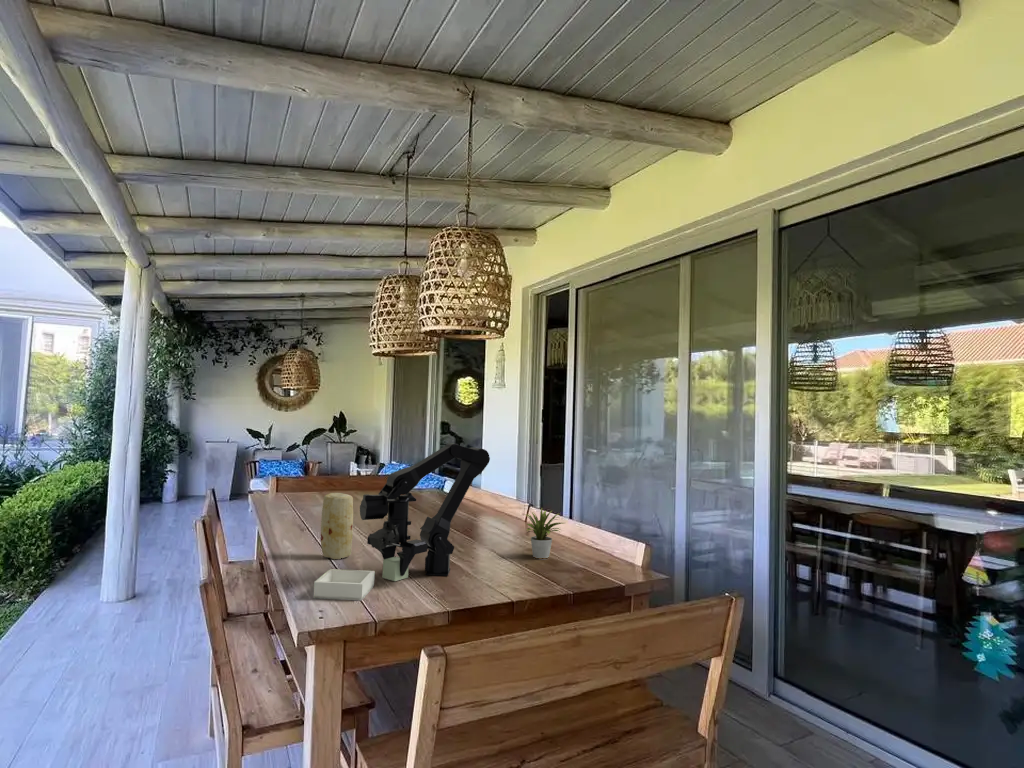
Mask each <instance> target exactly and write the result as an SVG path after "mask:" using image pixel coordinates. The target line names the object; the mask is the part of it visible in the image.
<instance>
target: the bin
mask: <svg viewBox="0 0 1024 768" xmlns="http://www.w3.org/2000/svg"><path fill="white" fill-rule="evenodd" d="M375 573H376V572H375V570H364V569H363V570H362V569H361V570H359V569H358V570H357V569H341V568H340V569H339V568H338V569H336V568H330V569H328V570H327V571H325V573H324V574H322V575H321V576H320V577H318V578H317V579H316V580H314V581H313V583H314V584H313V599H316V600H317V599H318V600H319V599H320V600H336V601H338V600H339V601H359V602H361V601H363V600H364V598H366V596H367V595H368V594H369V593H370V591H372V589H373V588H374V586H375Z"/></svg>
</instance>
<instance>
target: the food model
mask: <svg viewBox="0 0 1024 768" xmlns="http://www.w3.org/2000/svg"><path fill="white" fill-rule="evenodd" d="M321 508H322V509H321V510H322V511H321V520H320V548H321V553H322V556H323V557H324V558H329V559H331V560H335V559H338V560H341V558H342V559H344V558H348V557H350V555H351V554H352V544H353V527H354V526H353V525H354V498H353V496H352V495H350V494H347V493H343V492H331V493H327V494H325V495H324V496H323V501H322V507H321Z"/></svg>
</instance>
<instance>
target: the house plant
mask: <svg viewBox="0 0 1024 768" xmlns="http://www.w3.org/2000/svg"><path fill="white" fill-rule="evenodd" d="M552 512H553V510H550V511H549V512H548V513H547V510H544V511H543V507H541V509H540V513H539V514H540V515H539V519H538V516H537V514H536V513H535V512H531V514H532V516H533V517H532V516H531V514H530V513H528V514H526V513H525V514H523V513H522V515H524V516H526V517H527V518H528V519H529V520H530V522H531V523H527V524H526V526H529V527H528V528H527V529H526V531H527V533H530V532H531V533H534V535H535V536H534V535H533V536H531V537H530V541H531V542H530V543H531V550H532V552H531V553H532V558H533V557H536V558H548V557H550V552H551V548H552V543H553V538H552V537H550V536H548V535H550V534H551V533H552V532H559V533H561V532H562V531H561V528H560V527H555V526H557V525H561V524H565V522H553V521H555V520H559V519H558V517H557V516H558V515H560V513H557V514H555V515H553V517H552V518H550V520H548V522H547V523H546V521H547V519H548V518H549V515H551V513H552ZM548 559H549V558H548Z"/></svg>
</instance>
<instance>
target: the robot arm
mask: <svg viewBox="0 0 1024 768" xmlns="http://www.w3.org/2000/svg"><path fill="white" fill-rule="evenodd" d="M455 458H456V459H458V460H461V461H460V467H459V468H460V469H459V472H458V475H457V476H456V478H455V480H454V482H453V484H452V485H451V487H450V489H449V490H448V492H447V494H446V495H445V496H446V497H445V498H444V500H443V501H442V504H441V506H440V507H439V509H438V511H437V513H436V514H435V515H433V517H429V516H427V517H426V518H425V519H424V523H423V524H422V526H421V527H420V532H419V537H420V538H419V539H412V540H411V535H408V534H409V533H408V532H409V531H408V530H409V527H408V526H411V525H412V521H411V520H409V511H410V510H409V509H410V508H409V505H410V502H416V501H417V498H416V497H415V496H413V494H412V493H411V491H412V490H413V489H414V488H415V487H416V486H417V485H418V484H419V483H420V481H421V480H422V479H423V478H425V477H426V476H428V475H430V474H431V473H433V472H434V471H436V470H438V468H441V467H442V466H443V465H445V464H447V463H448V462H450V461H452V460H453V459H455ZM490 460H491V457H490V454H489V452H488V451H487V449H485V448H480V447H479V448H478V447H474V446H473V447H472V446H471V447H465V446H462V445H459V444H458V443H453V442H452V443H451V442H449V443H446V444H445V445H444V446H443V447H442V448H439V449H438V450H436V451H434V452H433V453H431V454H430V455H428V456H426V457H425V458H423V459H422V460H420V461H418V462H417V463H415V464H414V465H411V466H409V467H404V468H401V469H398V470H396V471H393V472H391V473H390V474H389V475H388V476H387V479H386V483H385V484H384V486H383V487H382V488H381V490H380V491H379V492H378V494H366V493H365V494H363V495H362V500H361V503H360V505H359V515H360V518H361V521H367V520H370V521H371V520H382V519H383V520H384V518H385V517H387V520H385V521H384V522H383V524H382V525H383V526H382V528H380V529H378V530H376V531H374V532H373V533H369V535H368V536H367V540H366V541H367V542H366V544H367V545H370V546H371V548H373V549H376V550H378V552H380V554H381V556H382V560H384V559H388V558H392V557H396V556H395V555H398V556H397V557H400V576H403V575H404V574H405V572H406V570H407V568H408V566H410V565H411V562H412V560H413V559H414V557H415V555H418V554H421V553H422V554H423V553H426V552H427V554H426V556H425V559H424V561H425V562H424V571H425V574H424V575H425V576H443V577H444V576H445V577H447V576H449V574H450V573H451V568H450V566H451V564H450V563H451V555H452V554H453V552H454V550H455V546H454V544H452V542H450V540H449V539H448V538H449V535H450V532H451V523H452V520H453V518H454V516H455V514H456V513H457V511H458V509H459V507H460V505H461V504H462V501H463V500H464V498H465V496H466V494H467V492H468V490H469V489H470V487H471V485H472V483H473V481H474V480H475V478H477V477H478V476H479V475H480V474H481V473H483V471H484V470H485V469H486V467H487V466H488V465H489V462H490ZM397 547H399V548H401V551H397ZM396 551H397V552H396ZM408 569H409V568H408Z"/></svg>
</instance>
